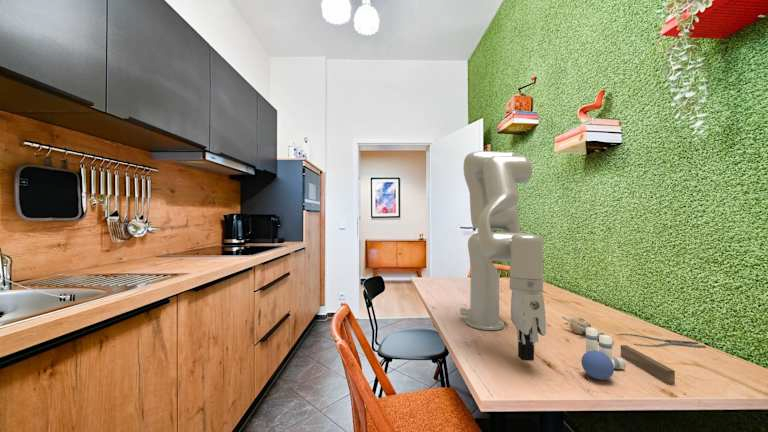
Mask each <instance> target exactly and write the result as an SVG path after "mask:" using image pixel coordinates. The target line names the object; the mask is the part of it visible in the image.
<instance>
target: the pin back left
mask: <svg viewBox="0 0 768 432" xmlns="http://www.w3.org/2000/svg"><path fill="white" fill-rule="evenodd" d="M597 331H598V329H597V328H594V327H592V326H591V327H586V335H585V353H586V352H588V351H592V350H595V351H599V341H598V333H597Z"/></svg>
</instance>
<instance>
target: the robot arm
mask: <svg viewBox="0 0 768 432" xmlns="http://www.w3.org/2000/svg"><path fill="white" fill-rule="evenodd" d="M463 175H464V179H465V183H466V185H467V188H468V193H469V204H470V205H469V207H470V208H469V210H470V211H469V212H470V220H471V225H472V226H473V228H476V229H477V232H476V233H474V234H472V235H470V237H469V238H468V241H467V250H468V257H469V264H470V267H469V270H470V273H469V274H470V286H469V287H470V291H469V292H470V295H469V296H470V297H469V298H470V299H469V300H470V302H469V303H470V304H469V306H470V307H469V308H464V307H460V309H459V314H460V315H462V316H466V317H465V324H466V325H467V326H469V327H471V328H474V329H477V330H483V331H499V330H502V329H504V328H505V322H504V321H502V320H501V319H500V273H499V269H498V268H497V267H496V266H495V264H494V263H493V261H494V262H495V261H503V262H505V261H509V290H511V298H510V320H511V324H513V326H515V329H516V332H517V334H516V335H517V357H518V358H519V359H520V360H521V361H529V362H533V361H534V360H535V343H539V335H541V336H545V335H546V334H547V321H546V320H547V318H546V308H545V307H546V306H545V299H544V295H543V294H544V241H543V238H542V237H541V236H540V235H538V234H529V233H524V232H521V224H520V216H519V215H520V214H519V212H518V208H517V207H516V205H517V204H518V203H519V200H520V198H519V193H518V188H517V184H526V183H527V182H529V181H530V180H531V178H532V175H533V166H532V163H531V160H530V159H529V158H528V157H527V156H525V155H522V154H519V153H517V152H515V151H492V150H491V151H490V150H489V151H488V150H485V151H484V150H481V151H478V150H477V151H473V152H471V153H468V154H467V155H466V156H465V158H464V160H463ZM493 230H500V231H501V232H500V231H498V232H496V231H495V232H494V231H493Z"/></svg>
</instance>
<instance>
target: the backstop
mask: <svg viewBox="0 0 768 432" xmlns="http://www.w3.org/2000/svg"><path fill="white" fill-rule="evenodd" d="M621 356H622V357H621ZM620 357H621V358H622V359H624V358H625V360H626V361H628V362H629V361H630V362H629V363H631V364H633V365H634V364H635V365H634V366H635V367H637V368H639V367H640V369H641V368H642V369H641V370H642V371H644V370H645V371H644V372H646V373H648V374H649V373H650V375H651V376H652V377H654V376H655V377H654V378H656V377H657V378H656V379H657V380H659V379H660V380H659V381H661V380H662V381H661V382H663V383H664V382H665V384H666V383H667V384H666V385H668V384H675V385H676V377H675V376H676V375H675V374H676V373H675V371H676V370H674V369H672V368H670V367H668V366H666V365H665V364H663V363H660V362H659V361H657V360H655V359H653V358H652V357H650V356H647V355H645V354H644V353H643V352H640V351H638V350H637V349H634V348H633V347H631V346H629V345H627V344H620Z"/></svg>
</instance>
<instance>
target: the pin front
mask: <svg viewBox="0 0 768 432" xmlns="http://www.w3.org/2000/svg"><path fill="white" fill-rule="evenodd" d="M612 363H613V366H614V370H618V369H619V370H625V369H626V367H627V365H626V364H627V363H626V361H625V360H624V358H623V357H613V356H612Z"/></svg>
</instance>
